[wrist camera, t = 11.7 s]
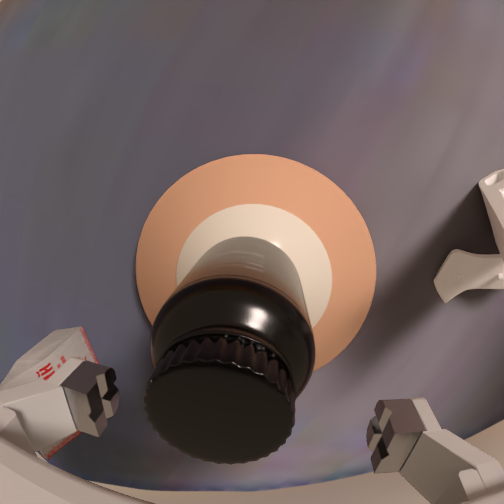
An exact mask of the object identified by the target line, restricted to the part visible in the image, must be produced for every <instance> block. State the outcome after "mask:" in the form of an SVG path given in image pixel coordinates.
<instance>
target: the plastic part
mask: <svg viewBox="0 0 504 504" xmlns="http://www.w3.org/2000/svg"><path fill="white" fill-rule="evenodd" d="M479 187H480V190H481V193H482V196H483V200H484V203H485V206H486V209H487V213H488V216H489V220H490V223H491V227H492V231H493V234H494V238H495V242H496V245H497V248H498V250H499V252H500V254H490V255H485V254H473V253H469V252H466V251H463V250H459V249H454V250H452V251H451V252H450V253H449V255H448V256H447V258H446V259H445V261H444V263H443V264H442V266H441V268H440V269H439V271H438V273H437V275H436V277H435V279H434V284H435V287H436V290H437V292H438V294H439V295H440V297H441V298H442V300H443V302H444V303H447V302H448V301H449V300H451V299H452V298H453V297H455V296H456V295H458V294H460V293H461V292H463V291H465V290H469V289H504V169H501V170H498V171H495V172H493V173H492V174H490V175H488V176H487V177H485V178H483V179H482V180H480V181H479Z"/></svg>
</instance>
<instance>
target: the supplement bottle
mask: <svg viewBox="0 0 504 504" xmlns="http://www.w3.org/2000/svg"><path fill="white" fill-rule="evenodd" d="M150 353H151V359H152V363H153V366H154V369H155V370H154V372H153V374H152V376H151V378H150V380H149V382H148V383H147V386H146V393H145V395H144V402H145V408H144V409H145V411H146V413H147V414H148V420H149V421H150V422H151V423H152V425H153V429H154V430H155V431H157V432H158V433H159V435H160V437H161V438H162V439H164V440H166V441H167V442H168V444H169V445H170V446H172V447H174V448H177V449H178V450H179V451H180V452H182V453H185V454H188V455H190V456H191V457H193V458H198V459H201V460H203V461H207V462H214V463H218V464H221V463H226V464H235V463H247V462H249V461H257V460H258V459H260V458H263V457H267V456H268V455H269V454H270V453H272V452H275V451H277V450H278V449H279V447H280V446H281V445H283V444H285V442H286V439H287V438H288V437H289V436H290V435H291V432H292V428H293V426H294V424H295V400H296V398H297V397H298V396H299V395H300V394H301V393H302V391H303V390H304V389H305V387H306V385H307V384H308V382H309V380H310V378H311V375H312V372H313V369H314V364H315V357H316V353H315V341H314V335H313V330H312V326H311V322H310V318H309V313H308V309H307V305H306V301H305V297H304V293H303V289H302V285H301V281H300V278H299V274H298V272H297V269H296V267H295V265H294V264H293V262H292V261H291V259H290V258H289V257H288V255H287V254H286V253H285V252H284V251H283V250H281V249H280V248H279V247H277V246H276V245H274V244H273V243H271V242H269V241H266V240H264V239H260V238H256V237H249V236H241V237H233V238H229V239H226V240H224V241H221V242H219V243H217V244H216V245H214V246H213V247H211V248H210V249H209V250H208V251H206V252H205V253H204V255H203V256H202V257H201V258H200V259H199V260H198V261H197V263H196V264H195V265H194V266H193V268H192V269H191V270H190V271H189V273H188V274H187V275H186V276H185V278H184V279H183V280H182V281H181V283H180V284H179V285H178V286H177V288H176V289H175V290H174V292H173V293H172V294H171V295H170V297H169V298H168V299H167V301H166V302H165V303H164V305H163V306H162V308H161V309H160V311H159V313H158V314H157V316H156V318H155V321H154V323H153V326H152V330H151V336H150Z"/></svg>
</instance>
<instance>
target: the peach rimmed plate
mask: <svg viewBox="0 0 504 504" xmlns="http://www.w3.org/2000/svg"><path fill="white" fill-rule="evenodd" d="M241 236H249V237H256V238H260V239H264V240H266V241H269V242H271V243H273V244H274V245H276V246H277V247H279V248H280V249H281V250H283V251H284V252H285V253H286V254H287V255H288V257H289V258H290V259H291V261H292V262H293V264H294V265H295V267H296V269H297V272H298V274H299V278H300V281H301V285H302V289H303V293H304V297H305V301H306V305H307V309H308V313H309V318H310V322H311V326H312V330H313V335H314V341H315V353H316V357H315V364H314V369H313V372H314V371H315V370H317V369H319V368H321V367H322V366H324V365H326V364H327V363H328V362H330V361H331V360H332V359H334V358H335V357H336V356H337V355H339V354H340V353H341V352H342V351H343V350H344V349H345V348H346V347H347V346H348V344H349V343H350V342H351V341H352V339H353V338H354V337H355V336H356V334H357V333H358V331H359V329H360V328H361V326H362V324H363V323H364V321H365V318H366V316H367V314H368V311H369V309H370V306H371V303H372V299H373V295H374V290H375V282H376V260H375V253H374V247H373V243H372V240H371V237H370V234H369V231H368V228H367V226H366V224H365V222H364V220H363V218H362V216H361V214H360V213H359V211H358V210H357V208H356V207H355V205H354V204H353V202H352V201H351V200H350V199H349V198H348V196H347V195H346V194H345V193H344V192H343V191H342V190H341V189H340V188H339V187H338V186H337V185H335V184H334V183H333V182H332V181H331V180H330V179H328V178H327V177H325V176H324V175H322V174H321V173H319V172H317V171H316V170H314V169H312V168H310V167H308V166H306V165H303V164H301V163H299V162H296V161H293V160H290V159H286V158H283V157H278V156H271V155H264V154H244V155H237V156H229V157H225V158H222V159H218V160H215V161H211V162H209V163H207V164H205V165H202V166H200V167H198V168H196V169H194V170H193V171H191V172H189V173H188V174H186V175H185V176H183V177H182V178H180V179H179V180H178V181H177V182H176V183H174V184H173V185H172V186H171V187H170V188H169V189H168V190H167V191H166V192H165V193H164V194H163V195H162V197H161V198H160V199H159V200H158V202H157V203H156V205H155V206H154V208H153V209H152V211H151V212H150V214H149V216H148V218H147V220H146V222H145V224H144V226H143V230H142V233H141V236H140V239H139V243H138V249H137V254H136V279H137V287H138V291H139V296H140V300H141V302H142V305H143V308H144V311H145V313H146V315H147V317H148V319H149V321H150V323H151V325H152V326H153V323H154V321H155V318H156V316H157V314H158V313H159V311H160V309H161V308H162V306H163V305H164V303H165V302H166V301H167V299H168V298H169V297H170V295H171V294H172V293H173V292H174V290H175V289H176V288H177V286H178V285H179V284H180V283H181V281H182V280H183V279H184V278H185V276H186V275H187V274H188V273H189V271H190V270H191V269H192V268H193V266H194V265H195V264H196V263H197V261H198V260H199V259H200V258H201V257H202V256H203V255H204V253H205V252H206V251H208V250H209V249H210V248H211V247H213V246H214V245H216V244H217V243H219V242H221V241H224V240H226V239H229V238H233V237H241Z"/></svg>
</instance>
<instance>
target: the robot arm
mask: <svg viewBox="0 0 504 504" xmlns="http://www.w3.org/2000/svg"><path fill="white" fill-rule="evenodd" d="M115 380H116V375H115V370H113V369H112V368H110V367H107V366H103V365H100V364H97V363H93V362H90V361H86V360H83V359H80V358H77V357H71V358H70V359H69V360H68V361H67V362H66V363H65V364H64V365H63V366H61V367H60V368H59V369H58V370H57V371H56V372H55V373H54V374H53V375H52V376H51V377H50V378H49V379H48V380H47V381H46V380H39V381H36V382H32V383H29V384H25V385H21V386H17V387H14V388H10V389H6V390H2V391H0V504H154V503H151V502H147V501H144V500H140V499H137V498H134V497H131V496H128V495H124V494H122V493H119V492H116V491H113V490H110V489H107V488H104V487H102V486H99V485H97V484H94V483H92V482H89V481H87V480H84V479H82V478H80V477H77V476H75V475H73V474H70V473H68V472H66V471H64V470H62V469H59V468H57V467H55V466H53V465H51V464H49V463H47V462H45V461H43V460H41V459H39V458H38V457H37V455H36V453H35V452H37V451H39V450H41V449H43V448H45V447H47V446H49V445H51V444H53V443H55V442H57V441H59V440H60V439H62V438H64V437H66V436H68V435H70V434H72V433H74V432H76V431H77V430H79V431H82V432H85V433H88V434H91V435H94V436H97V437H100V435H101V434H102V432H103V431H104V429H105V428H106V426H107V425H108V423H107V418H109V417H112V416H114V414H115V413H116V411H117V409H118V405H119V390H118V388H117V387H116V386H115V385H114V381H115ZM374 410H375V414H376V416H375V417H374V418H372V419H371V420H370V422H369V425H368V428H367V435H366V438H367V445H368V448H369V449H370V450H371V451H373V454H372V456H371V462H372V466H373V470H374V473H390V472H399V473H400V474H401V475H402V476H403V477H404V478H405V479H406V480H407V481H408V482H409V483H410V484H411V485H412V486H413V487H414V488H415V489H416V490H417V491H418V492H419V493H420V494H421V495H422V496H424V498H426V499H427V500H428V501H429V502H430V503H431V504H504V471H503V469H502V467H501V465H500V463H499V462H498V460H496V459H495V458H493V457H491V456H489V455H488V454H486V453H485V452H483V451H481V450H480V449H478V448H476V447H475V446H473V445H471V444H469V443H468V442H466V441H465V440H463V439H461V438H460V437H458V436H456V435H455V434H453V433H451V432H450V431H448V430H446V429H441V427H440V425H439V423H438V421H437V420H436V418H435V416H434V414H433V412H432V410H431V408H430V406H429V405H428V403H427V401H426V399H425V398H423V397H419V398H409V399H393V400H379V401H378V402H377V404H376V407H375V409H374Z"/></svg>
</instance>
